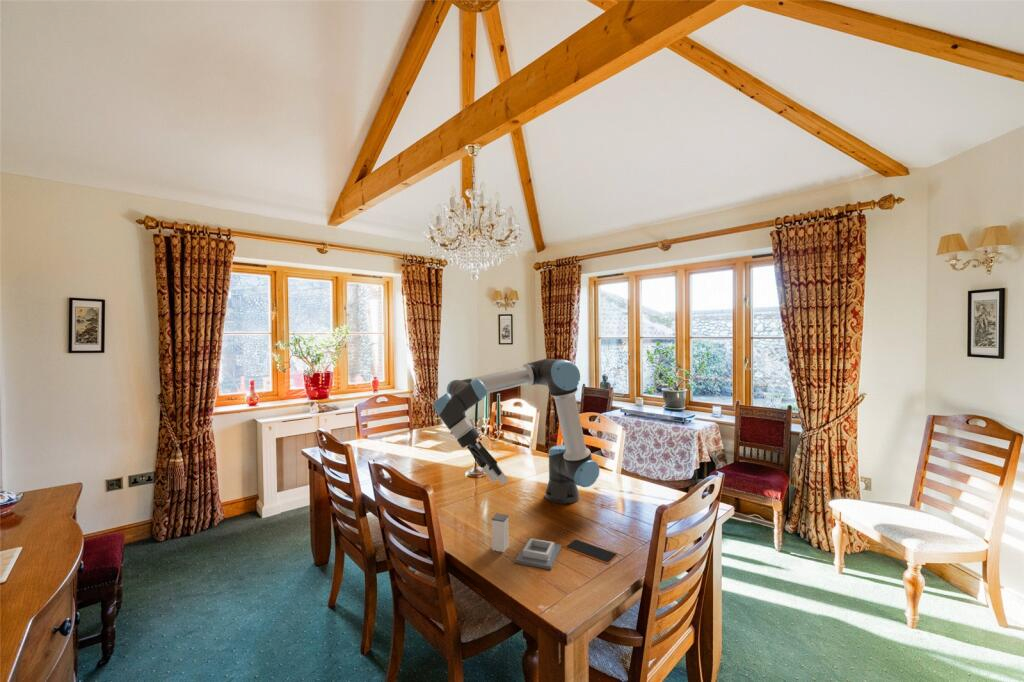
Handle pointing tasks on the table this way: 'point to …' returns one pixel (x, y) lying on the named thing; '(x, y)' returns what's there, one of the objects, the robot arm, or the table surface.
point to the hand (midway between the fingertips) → (500, 481)
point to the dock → (538, 553)
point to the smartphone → (591, 551)
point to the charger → (500, 532)
